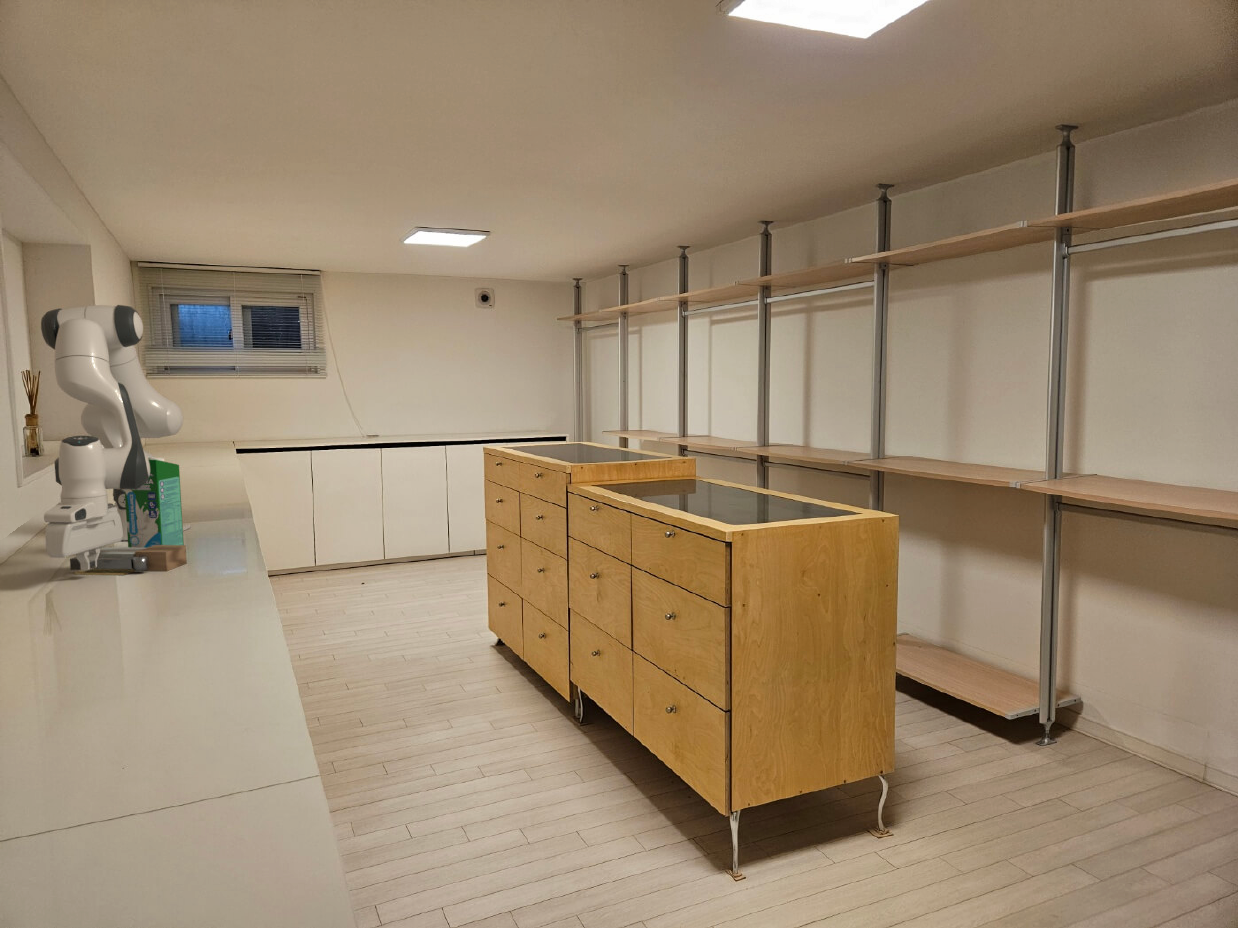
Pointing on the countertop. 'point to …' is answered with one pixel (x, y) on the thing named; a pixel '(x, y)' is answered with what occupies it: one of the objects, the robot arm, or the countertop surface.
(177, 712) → the countertop surface
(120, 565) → the swing bar
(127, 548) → the door edge
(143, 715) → the countertop surface
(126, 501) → the milk carton
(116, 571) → the strike pad
